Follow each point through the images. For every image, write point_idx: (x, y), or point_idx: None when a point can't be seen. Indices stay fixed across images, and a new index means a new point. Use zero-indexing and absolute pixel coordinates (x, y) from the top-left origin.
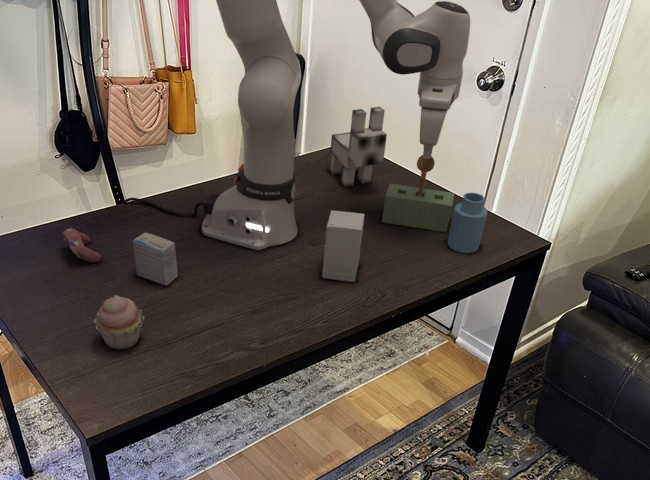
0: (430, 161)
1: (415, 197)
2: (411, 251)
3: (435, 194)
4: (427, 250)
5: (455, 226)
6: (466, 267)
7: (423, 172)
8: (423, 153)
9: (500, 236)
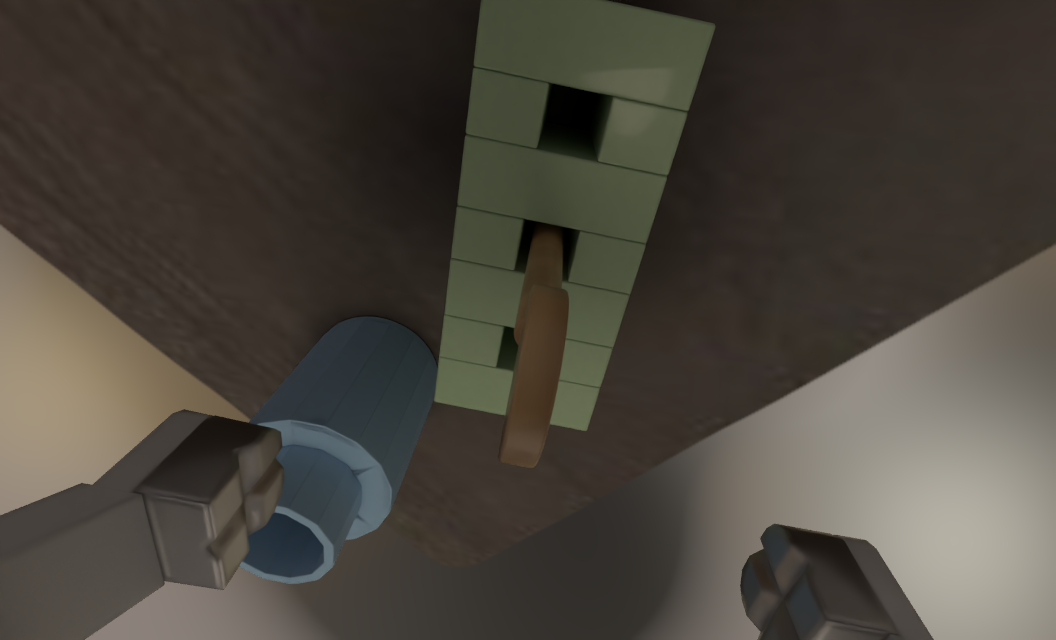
0: (504, 427)
1: (494, 217)
2: (252, 155)
3: None
4: (288, 230)
5: (289, 381)
6: (220, 357)
7: (517, 322)
8: (133, 449)
9: (473, 487)
